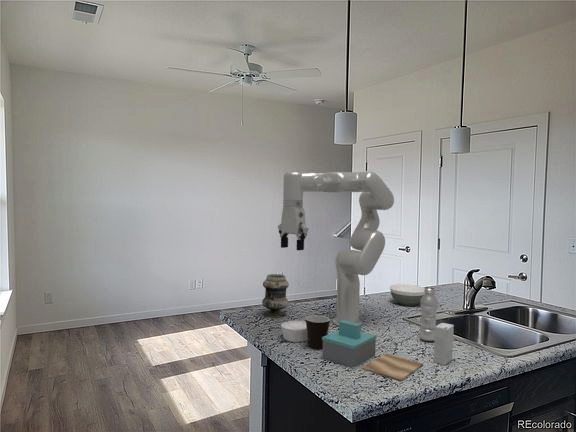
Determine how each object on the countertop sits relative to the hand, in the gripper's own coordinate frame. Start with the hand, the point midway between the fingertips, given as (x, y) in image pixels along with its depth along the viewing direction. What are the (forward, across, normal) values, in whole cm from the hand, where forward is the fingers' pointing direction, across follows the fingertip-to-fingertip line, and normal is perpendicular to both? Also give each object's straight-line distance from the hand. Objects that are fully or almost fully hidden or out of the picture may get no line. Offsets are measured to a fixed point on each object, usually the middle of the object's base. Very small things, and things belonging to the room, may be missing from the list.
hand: (292, 248), depth 160 cm
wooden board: (+34, -43, -7) cm, 55 cm away
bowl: (+34, +4, -80) cm, 87 cm away
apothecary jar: (+34, +26, -12) cm, 44 cm away
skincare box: (+34, -50, -25) cm, 65 cm away
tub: (+34, -29, -2) cm, 44 cm away
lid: (+28, -29, -2) cm, 40 cm away
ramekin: (+34, -4, +1) cm, 34 cm away
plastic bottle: (+34, -35, -39) cm, 62 cm away
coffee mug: (+34, -15, -2) cm, 37 cm away
